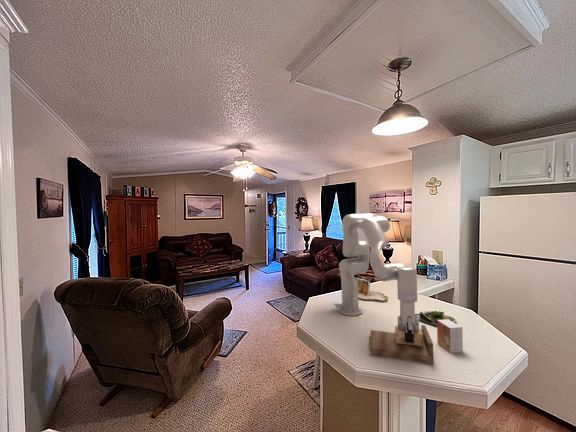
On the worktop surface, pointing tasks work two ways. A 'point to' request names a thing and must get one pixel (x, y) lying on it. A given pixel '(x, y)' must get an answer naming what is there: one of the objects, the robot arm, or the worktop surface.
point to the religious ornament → (368, 292)
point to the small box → (450, 336)
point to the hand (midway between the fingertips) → (408, 338)
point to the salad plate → (433, 317)
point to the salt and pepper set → (401, 331)
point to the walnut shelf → (401, 347)
